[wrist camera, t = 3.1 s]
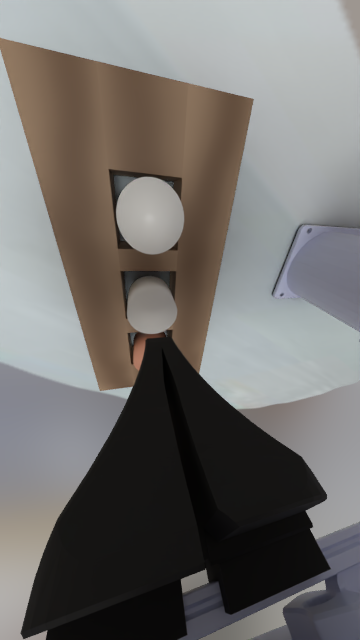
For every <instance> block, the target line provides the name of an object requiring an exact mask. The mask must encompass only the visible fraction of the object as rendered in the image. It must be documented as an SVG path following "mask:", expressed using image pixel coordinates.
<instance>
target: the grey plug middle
mask: <svg viewBox="0 0 360 640" xmlns="http://www.w3.org/2000/svg"><path fill="white" fill-rule="evenodd" d="M176 317H177V307H176V304H175V302H174V299H173V296H172V294H171V291H170V289H169V287H168V285H167V284H166V283H165V282H164V281H163V280H162V279H160V278H158V277H155V276H144V277H141V278H139V279H137V280H136V281H135V282H133V284H132V285H131V286H130V289H129V292H128V306H127V318H128V321H129V323H130V324H131V326H132V327H133V328H134V329H136V330H137V331H139V332H142V333H146V334H157V333H160V332H163V331H165V330H167V329H168V328H169V327H171V326H172V324H173V323H174V322H175V320H176Z"/></svg>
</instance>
